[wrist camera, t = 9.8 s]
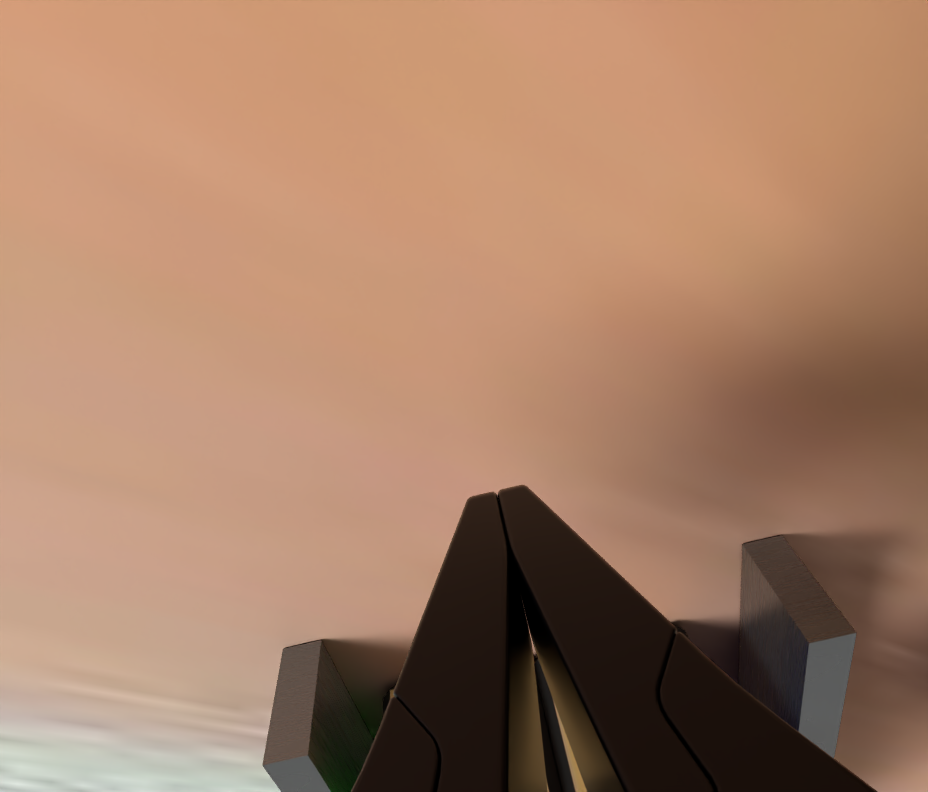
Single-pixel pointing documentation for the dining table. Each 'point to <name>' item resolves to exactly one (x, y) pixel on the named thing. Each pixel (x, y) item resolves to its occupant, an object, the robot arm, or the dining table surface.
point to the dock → (760, 673)
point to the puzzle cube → (550, 739)
